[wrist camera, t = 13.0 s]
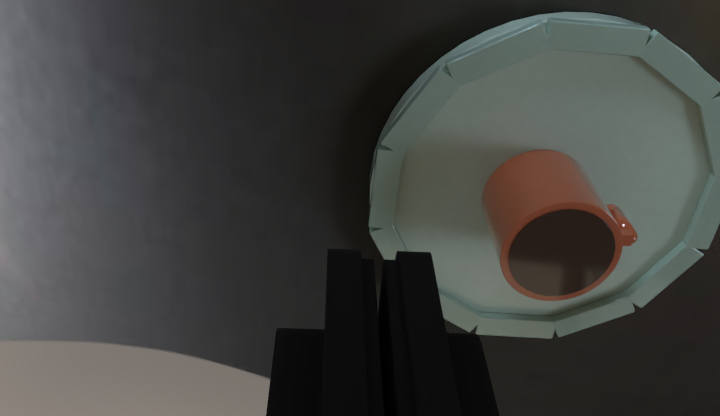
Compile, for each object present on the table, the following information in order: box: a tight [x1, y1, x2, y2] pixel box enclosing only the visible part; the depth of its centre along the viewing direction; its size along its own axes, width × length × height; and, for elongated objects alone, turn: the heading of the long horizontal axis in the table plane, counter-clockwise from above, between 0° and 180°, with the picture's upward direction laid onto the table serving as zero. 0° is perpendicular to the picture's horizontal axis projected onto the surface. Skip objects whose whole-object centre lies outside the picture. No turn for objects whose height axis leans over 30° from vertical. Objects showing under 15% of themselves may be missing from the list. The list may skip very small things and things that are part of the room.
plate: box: [368, 12, 720, 339], centre depth 39 cm, size 20×20×2 cm
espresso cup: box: [481, 150, 638, 301], centre depth 36 cm, size 7×6×6 cm
